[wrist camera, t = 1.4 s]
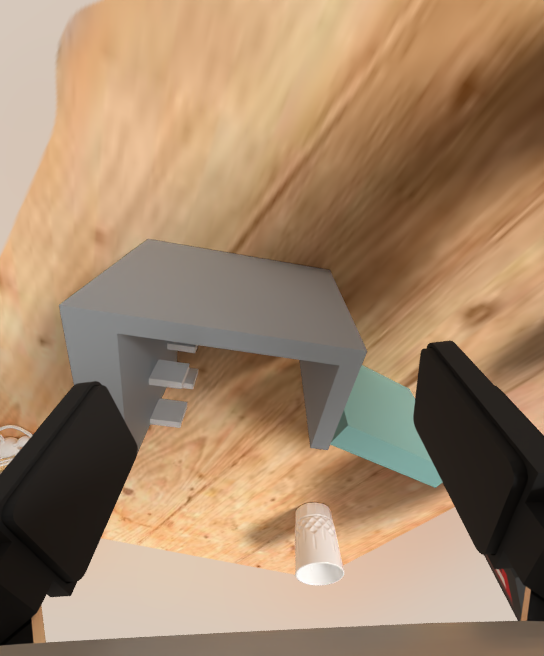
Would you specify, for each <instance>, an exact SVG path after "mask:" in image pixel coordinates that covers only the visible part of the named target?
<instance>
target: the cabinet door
mask: <svg viewBox="0 0 544 656" xmlns="http://www.w3.org/2000/svg"><path fill="white" fill-rule="evenodd" d="M414 406H415V398H414V396H413V395H412V393H411V391H410V389H408V388H406V387H404V386H402V385H400V384H398V383H396V382H394V381H393V380H391V379H389V378H387V377H385V376H383V375H381V374H379V373H377V372H375V371H373V370H371V369H369V368H367V367H365V366H363V365H362V366H361V368H360V371H359V373H358V376H357V378H356V381H355V383H354V386H353V388H352V391H351V393H350V396H349V398H348V401H347V403H346V406H345V408H344V411H343V413H342V416H341V418H340V421H339V423H338V426H337V428H336V431H335V433H334V436H333V438H332V441H331V444H330V445H333V446H335V447H338V448H340V449H343V450H345V451H347V452H350V453H352V454H355V455H357V456H360V457H362V458H364V459H367V460H369V461H372V462H374V463H377V464H379V465H381V466H384V467H386V468H389V469H391V470H394V471H396V472H398V473H401V474H403V475H406V476H408V477H411V478H413V479H415V480H418V481H420V482H423V483H425V484H427V485H430V486H432V487H435V488H436V487H437V486H439V485H440V484H441V483H443V482H442V480H441V478H440V476H439V474H438V472H437V470H436V468H435V466H434V464H433V462H432V460H431V458H430V456H429V454H428V452H427V450H426V448H425V446H424V444H423V442H422V440H421V439H420V437H419V435H418V433H417V431H416V428H415V425H414V421H413V414H414Z"/></svg>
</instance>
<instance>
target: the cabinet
mask: <svg viewBox="0 0 544 656" xmlns="http://www.w3.org/2000/svg"><path fill="white" fill-rule="evenodd" d="M59 308H60V314H61V319H62V324H63V329H64V335H65V340H66V345H67V351H68V356H69V361H70V367H71V372H72V377H73V382H74V385H75V384H78V383H84V382H93V381H97V382H100V383H101V384H102V385H104V386H106V387H107V389H108V390H109V392H110V394H111V396H112V398H113V400H114V402H115V404H116V405H117V407H118V409H119V411H120V413H121V415H122V417H123V419H124V420H125V422H126V424H127V426H128V428H129V430H130V432H131V434H132V436H133V437H134V439H135V441H136V443H137V446H138V451H139V449H140V446H141V444H142V442H143V439H144V437H145V435H146V433H147V430H148V428H149V426H150V424H153V425H161V426H169V427H178V428H180V427H181V424H182V421H183V418H184V415H185V412H186V409H187V402H184V401H176V400H168V399H162V396H163V394H164V392H165V390H166V387H170V388H178V389H182V388H187V389H193V388H194V385H195V382H196V379H197V375H198V369H196V368H189V364H188V363H181V362H177V351H183V352H190V353H195V352H196V350H197V347H198V345H201V346H207V347H214V348H221V349H228V350H235V351H242V352H249V353H256V354H263V355H270V356H277V357H284V358H291V359H298V360H300V368H301V376H302V384H303V392H304V400H305V408H306V416H307V424H308V432H309V440H310V448H315V449H323V450H328V449H329V446H330V444H331V441H332V438H333V436H334V433H335V431H336V428H337V426H338V423H339V421H340V418H341V416H342V413H343V411H344V408H345V406H346V403H347V401H348V398H349V396H350V393H351V391H352V388H353V386H354V383H355V381H356V378H357V376H358V373H359V371H360V368H361V366H362V363H363V361H364V358H365V356H366V353H367V349H366V347H365V345H364V343H363V341H362V339H361V336H360V334H359V332H358V330H357V328H356V326H355V323H354V321H353V319H352V317H351V315H350V313H349V310H348V308H347V306H346V304H345V302H344V300H343V297H342V295H341V293H340V291H339V289H338V287H337V284H336V282H335V280H334V278H333V276H332V274H331V271H330V270H327V269H321V268H315V267H310V266H304V265H298V264H292V263H286V262H280V261H274V260H269V259H263V258H257V257H251V256H245V255H239V254H233V253H228V252H222V251H216V250H210V249H204V248H198V247H192V246H186V245H181V244H175V243H169V242H163V241H157V240H151V239H147V240H146V241H144V242H143V243H142V244H140V245H139V246H138V247H136V248H135V249H134V250H132V251H131V252H130V253H128V254H127V255H126V256H124V257H123V258H122V259H120V260H119V261H117V262H116V263H115V264H113V265H112V266H111V267H109V268H108V269H107V270H105V271H104V272H103V273H101V274H100V275H99V276H97V277H96V278H95V279H93V280H92V281H91V282H89V283H88V284H87V285H85V286H84V287H83V288H81V289H80V290H78V291H77V292H76V293H74V294H73V295H72V296H70V297H69V298H68V299H66V300H65V301H64V302H62V303H61V304H60V305H59ZM137 453H138V452H137Z"/></svg>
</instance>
